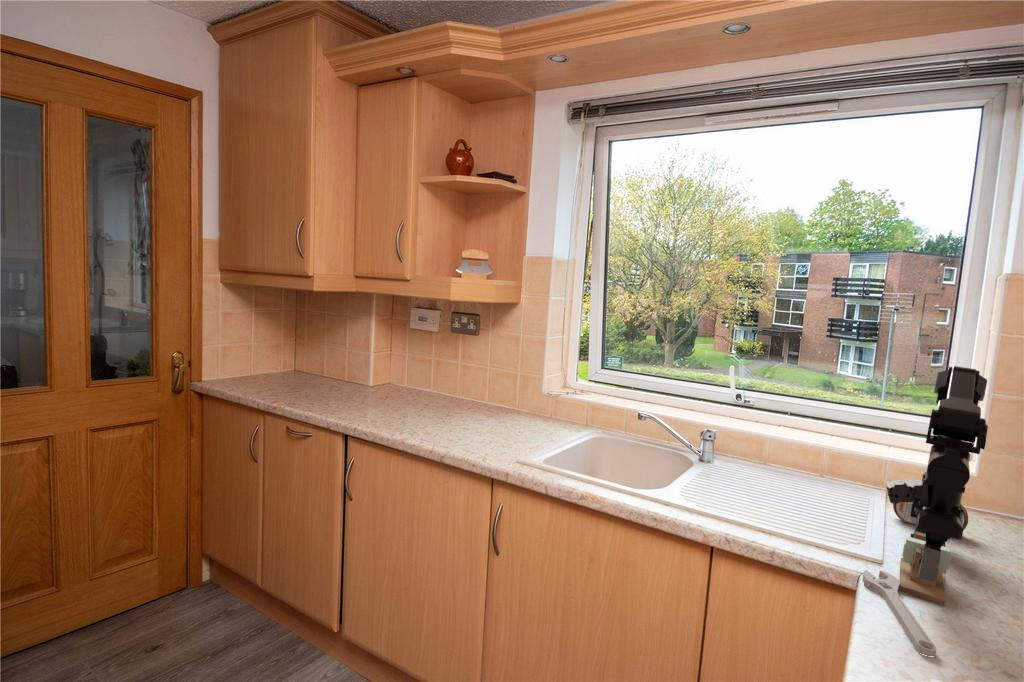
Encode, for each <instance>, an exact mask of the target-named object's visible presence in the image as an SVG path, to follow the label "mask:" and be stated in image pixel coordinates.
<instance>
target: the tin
mask: <svg viewBox="0 0 1024 682" xmlns="http://www.w3.org/2000/svg"><path fill="white" fill-rule="evenodd" d="M912 504H913V502H900V503H898V504H894V503H892V507H893V512H894V513H895V515H896V516H897V517H898V519H900V521H902V522H904V523H906V524H909V525H912V526H915V525H916V520H917V518H915V517H910V514H911V509H912ZM961 507H962V509H963V510H964V511H963V515H962V519H961V522H962V524H963V529H964V530H965V529H966V528H967V526H968V524H969V514H968V511H967V509H966V508H965V506H963V504H961ZM914 509H916V508H914Z"/></svg>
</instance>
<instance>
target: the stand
mask: <svg viewBox="0 0 1024 682" xmlns="http://www.w3.org/2000/svg"><path fill="white" fill-rule="evenodd" d="M915 539H919V540H922V541H926V534H923V533H920V532H916V533H915ZM921 551H922V549H921V547H918V546H916V547H915V552H914V556H913V559H912V564H910V563H907V562H904V561H903V557H901V558H900V562H899V579H898V580H899V581H900V586H899V591H898V592H899V593H903V594H906V595H908V596H911V597H915V598H918V599H921V600H924V601H926V602H929V603H933V604H936V605H940V606H942V607H945V606H946V605H945V604H946V601H947V600H946V593H945V583H944V574H943V573H940V572H938V570H939V569H937V574H936V578H935V582H931V581H928V580H925V579H922V578H919V568H920V563H921ZM939 561H940V559H939ZM938 566H939V564H938Z"/></svg>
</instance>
